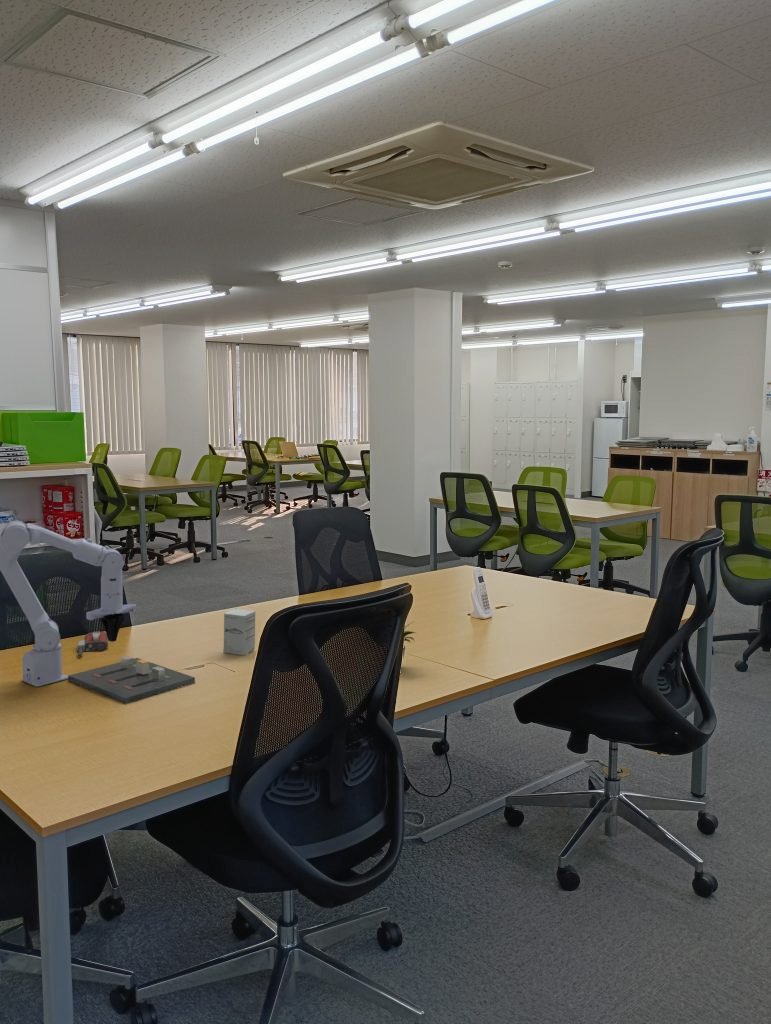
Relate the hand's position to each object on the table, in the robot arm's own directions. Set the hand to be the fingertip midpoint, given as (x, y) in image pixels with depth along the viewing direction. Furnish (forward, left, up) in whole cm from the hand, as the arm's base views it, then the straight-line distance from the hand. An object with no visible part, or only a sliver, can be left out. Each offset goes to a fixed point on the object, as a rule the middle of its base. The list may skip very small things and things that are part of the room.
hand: (112, 640), depth 231 cm
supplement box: (+38, -10, -10) cm, 41 cm away
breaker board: (-1, -10, -9) cm, 14 cm away
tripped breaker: (+3, -10, -8) cm, 13 cm away
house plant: (+57, -54, -10) cm, 79 cm away
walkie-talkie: (+10, +24, -10) cm, 28 cm away
